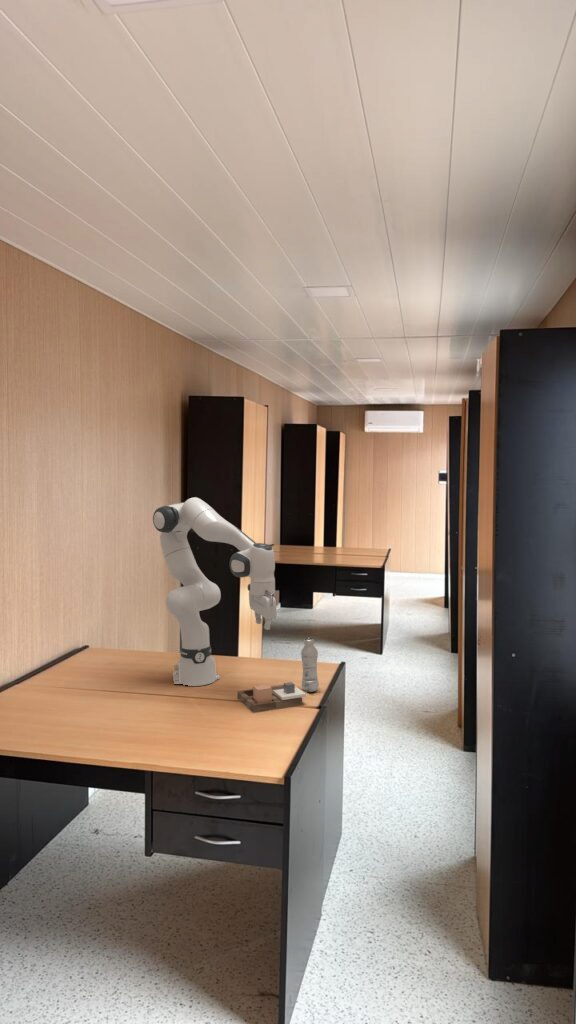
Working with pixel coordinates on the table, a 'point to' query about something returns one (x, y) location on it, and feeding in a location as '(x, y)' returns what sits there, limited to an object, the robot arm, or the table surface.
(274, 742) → the table surface
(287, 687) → the lid
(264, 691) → the block
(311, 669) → the plastic bottle
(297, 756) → the table surface
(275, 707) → the board
